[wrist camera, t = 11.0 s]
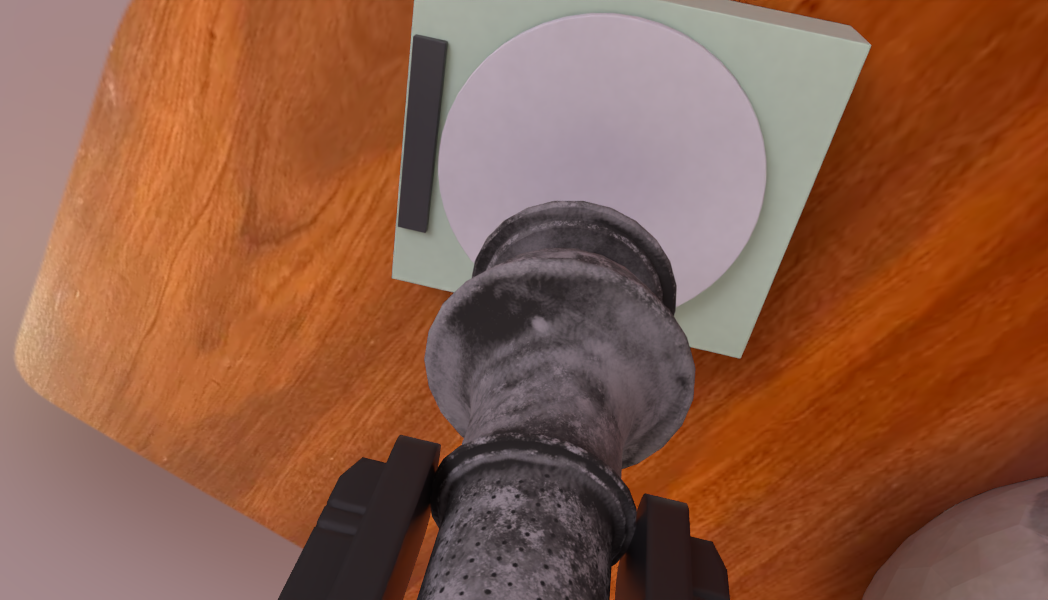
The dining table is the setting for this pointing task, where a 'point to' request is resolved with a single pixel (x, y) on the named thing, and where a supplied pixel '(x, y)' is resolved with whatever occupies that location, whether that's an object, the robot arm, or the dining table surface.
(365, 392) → the dining table surface
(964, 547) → the bowl
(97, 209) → the dining table surface
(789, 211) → the scale
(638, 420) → the salt shaker
